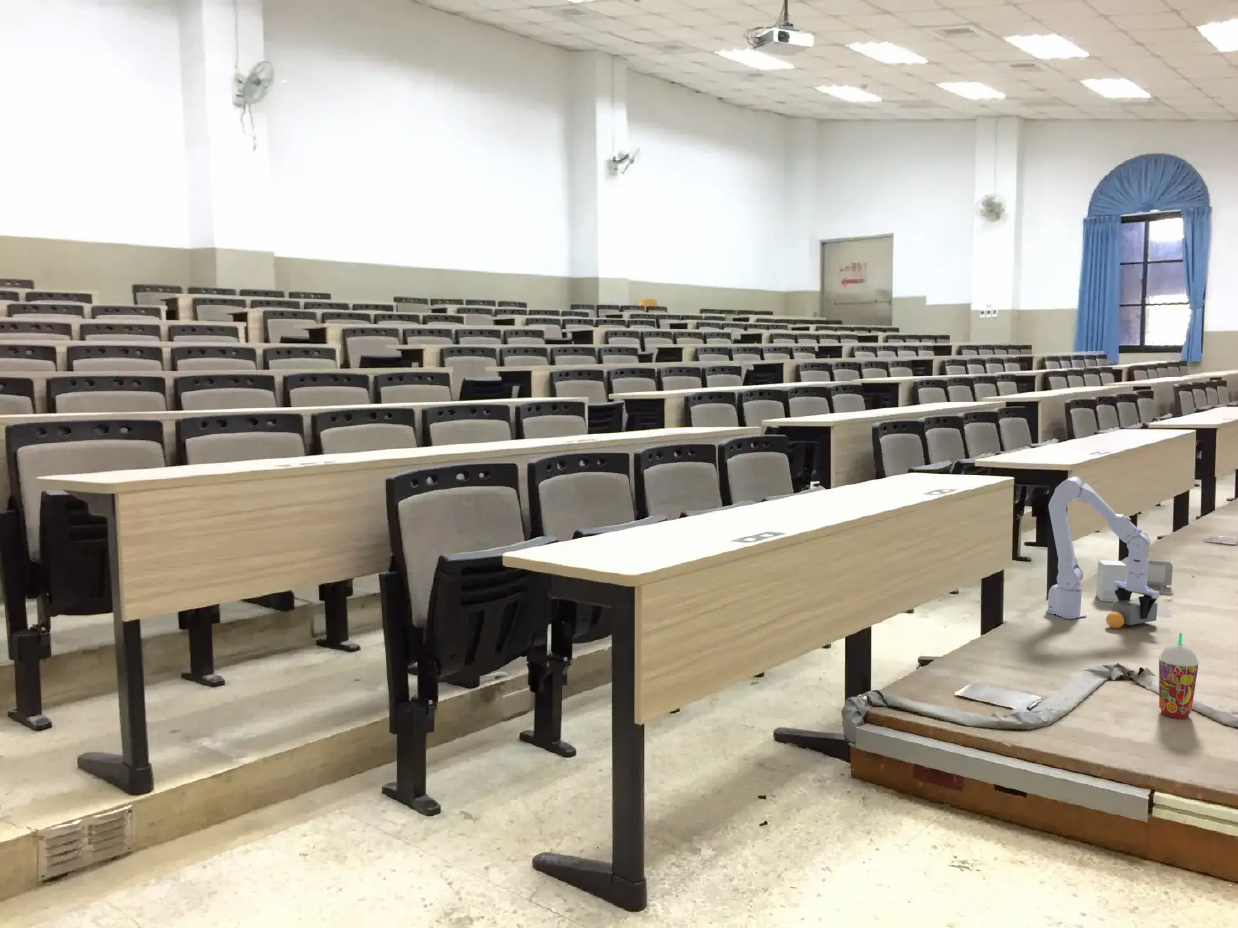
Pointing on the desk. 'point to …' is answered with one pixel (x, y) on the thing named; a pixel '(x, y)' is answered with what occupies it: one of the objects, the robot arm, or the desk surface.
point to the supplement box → (1109, 579)
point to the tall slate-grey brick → (1134, 611)
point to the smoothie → (1177, 680)
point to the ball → (1115, 620)
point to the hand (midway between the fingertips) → (1134, 615)
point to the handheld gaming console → (1160, 576)
